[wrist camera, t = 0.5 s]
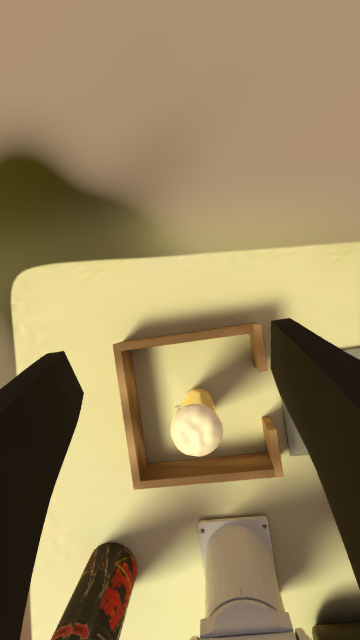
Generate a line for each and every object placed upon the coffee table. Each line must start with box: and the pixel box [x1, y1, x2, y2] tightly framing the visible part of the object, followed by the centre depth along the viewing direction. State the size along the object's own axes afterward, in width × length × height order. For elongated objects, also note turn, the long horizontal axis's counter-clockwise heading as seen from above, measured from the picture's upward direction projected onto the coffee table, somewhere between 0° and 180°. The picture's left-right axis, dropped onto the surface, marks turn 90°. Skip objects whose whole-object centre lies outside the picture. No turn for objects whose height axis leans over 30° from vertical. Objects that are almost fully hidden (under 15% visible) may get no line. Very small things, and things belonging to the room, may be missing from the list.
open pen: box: [113, 323, 283, 490], centre depth 31 cm, size 16×16×4 cm
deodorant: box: [51, 543, 137, 640], centre depth 26 cm, size 6×6×15 cm
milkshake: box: [171, 388, 223, 457], centre depth 27 cm, size 5×5×10 cm
